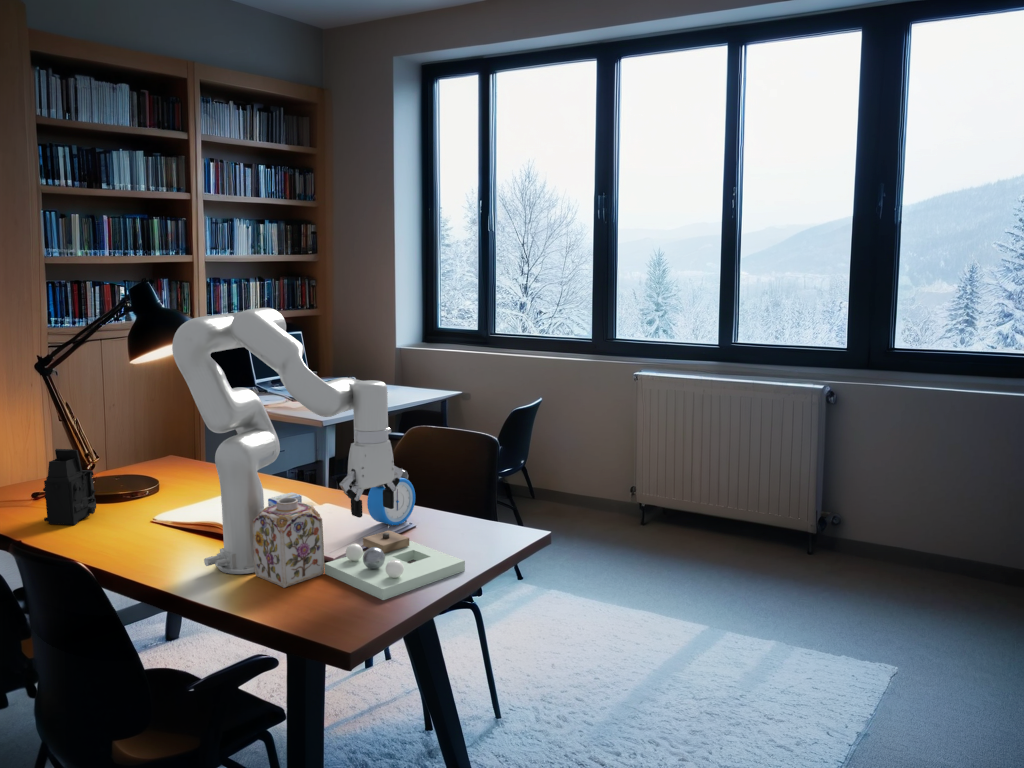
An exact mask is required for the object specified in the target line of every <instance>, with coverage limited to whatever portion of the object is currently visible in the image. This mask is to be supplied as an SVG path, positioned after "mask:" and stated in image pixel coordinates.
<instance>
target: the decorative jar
mask: <svg viewBox="0 0 1024 768" xmlns="http://www.w3.org/2000/svg"><path fill="white" fill-rule="evenodd" d="M323 526H324V525H323V518H322V516H321V514H320V513H319V512H318V511H317V510H316V508H315V507H314V506H313V505H312V504H309V503H304V502H302V503H298V500H297V499H296V498H281V499H279V500H277V504H275V505H272V506H268V505H267V506H265V507H264V510H263V511H261V512H260V513H259V514H258V516H257V517H256V518H255V519H254V520H253V543H254V565H255V572H254V573H255V576H256V577H258V578H260V579H262V580H264V581H265V580H266V581H268V582H270V583H272V584H274V585H277V586H279V587H282V588H284V589H285V588H287V587H290V586H295V585H296V584H298V583H299V584H300V583H302V582H305V581H308V580H311V579H314V578H317V577H319V576H321V575H322V576H323V575H325V568H324V563H325V549H324V547H325V546H324V545H325V544H324V527H323Z"/></svg>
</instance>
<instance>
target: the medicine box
mask: <svg viewBox="0 0 1024 768" xmlns="http://www.w3.org/2000/svg"><path fill="white" fill-rule="evenodd" d="M302 497H303V495H301V494H298V493H296V492H288V493H284V494H283V493H282V494H281V495H276V496H272V497H269V498H267V507H268V506H272V505H275V504H277V500H279V499H281V498H296V499H297V500H298V503H303V502H302V500H303V499H302Z"/></svg>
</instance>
